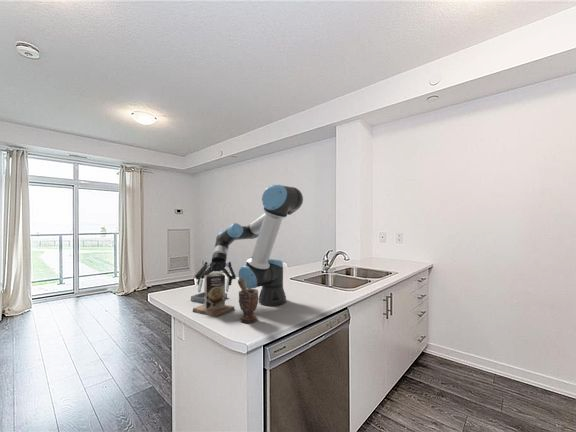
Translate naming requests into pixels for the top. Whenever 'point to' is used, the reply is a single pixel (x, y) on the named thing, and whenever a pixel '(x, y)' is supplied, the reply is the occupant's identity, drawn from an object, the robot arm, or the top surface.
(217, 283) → the coffee box
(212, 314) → the walnut board
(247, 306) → the mortar and pestle
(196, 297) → the holder ring
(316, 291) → the top surface
